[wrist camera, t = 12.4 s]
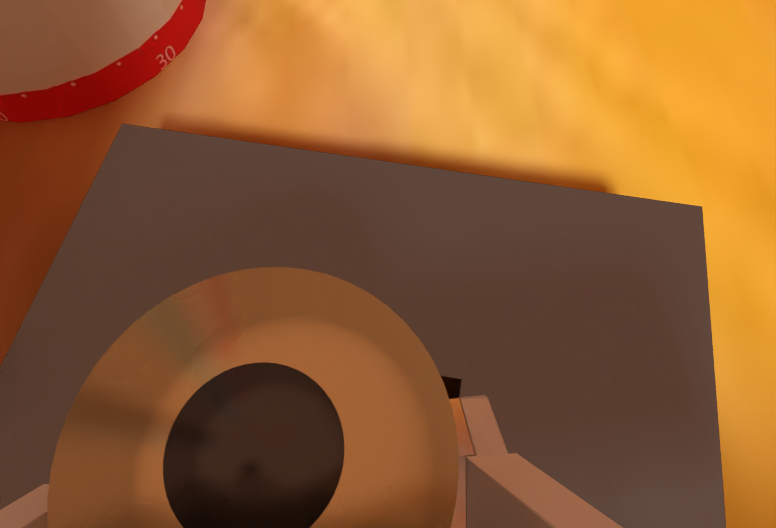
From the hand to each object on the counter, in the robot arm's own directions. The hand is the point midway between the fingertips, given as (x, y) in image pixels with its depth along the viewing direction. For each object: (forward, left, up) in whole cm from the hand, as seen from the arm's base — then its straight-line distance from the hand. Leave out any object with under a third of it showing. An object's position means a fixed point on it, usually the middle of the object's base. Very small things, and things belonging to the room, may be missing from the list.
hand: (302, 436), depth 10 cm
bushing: (-1, 0, -5) cm, 5 cm away
